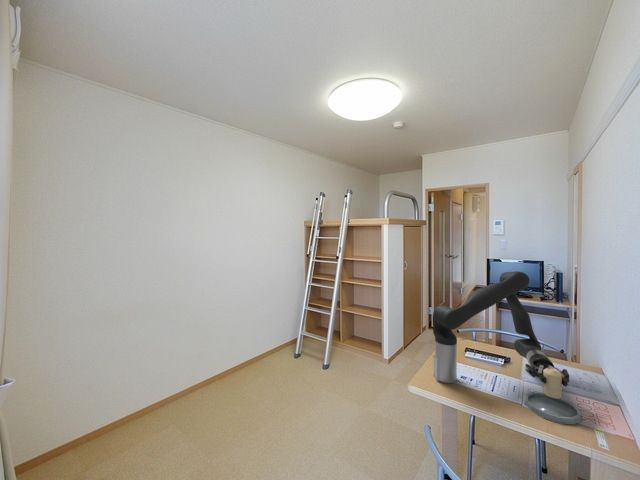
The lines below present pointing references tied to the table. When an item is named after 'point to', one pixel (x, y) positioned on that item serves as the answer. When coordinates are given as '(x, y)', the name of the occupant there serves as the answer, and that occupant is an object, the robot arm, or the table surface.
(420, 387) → the table surface
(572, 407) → the dish
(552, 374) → the candle
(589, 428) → the table surface
